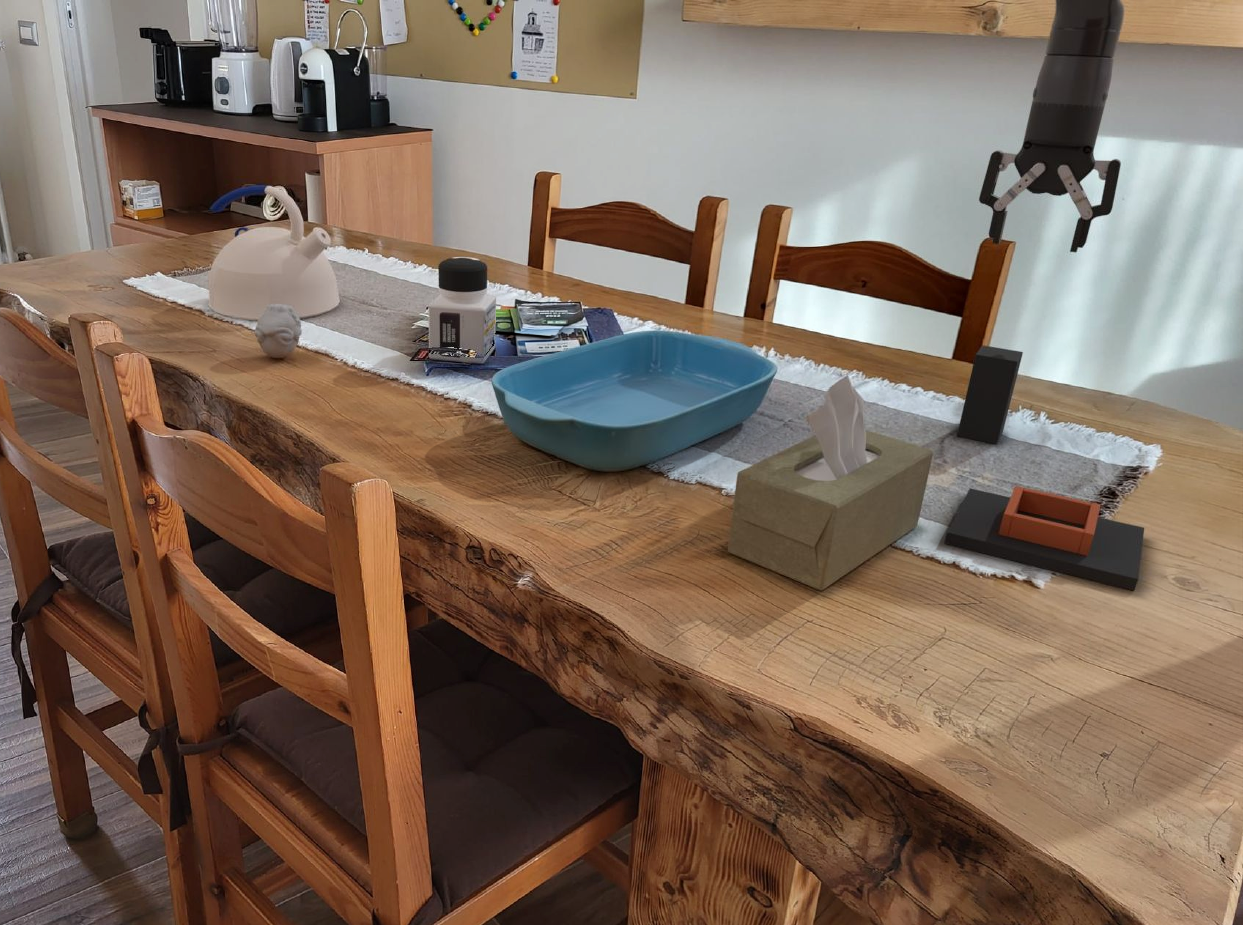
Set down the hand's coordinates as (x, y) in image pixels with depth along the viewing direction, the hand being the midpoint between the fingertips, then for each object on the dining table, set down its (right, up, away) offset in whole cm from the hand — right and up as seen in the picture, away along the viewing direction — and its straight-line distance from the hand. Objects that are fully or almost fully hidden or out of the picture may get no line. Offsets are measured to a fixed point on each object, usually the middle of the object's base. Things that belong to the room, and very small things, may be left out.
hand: (1034, 247), depth 124 cm
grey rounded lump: (-94, -10, +17) cm, 96 cm away
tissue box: (-32, -35, -27) cm, 54 cm away
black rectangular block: (-7, -22, 0) cm, 23 cm away
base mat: (-11, -35, -25) cm, 44 cm away
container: (-70, -9, +21) cm, 73 cm away
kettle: (-101, +2, +41) cm, 109 cm away
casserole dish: (-48, -22, -2) cm, 53 cm away
